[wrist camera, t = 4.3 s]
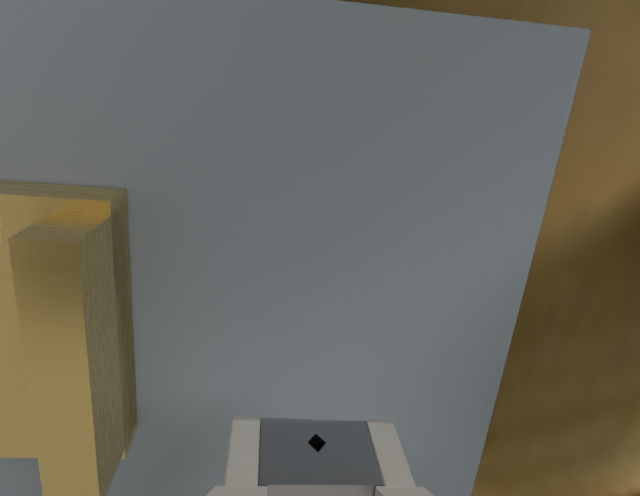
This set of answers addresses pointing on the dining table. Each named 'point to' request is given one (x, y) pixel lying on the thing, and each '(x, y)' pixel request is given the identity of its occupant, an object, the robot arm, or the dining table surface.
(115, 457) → the brass cover
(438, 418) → the grey flat slab
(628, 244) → the dining table surface
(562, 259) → the dining table surface
